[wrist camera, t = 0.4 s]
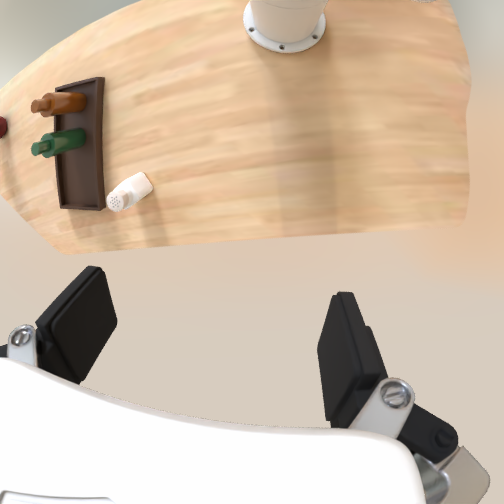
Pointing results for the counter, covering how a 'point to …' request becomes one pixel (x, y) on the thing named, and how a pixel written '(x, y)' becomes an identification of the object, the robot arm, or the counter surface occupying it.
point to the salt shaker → (129, 192)
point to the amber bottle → (59, 104)
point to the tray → (82, 151)
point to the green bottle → (59, 142)
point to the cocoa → (2, 126)
